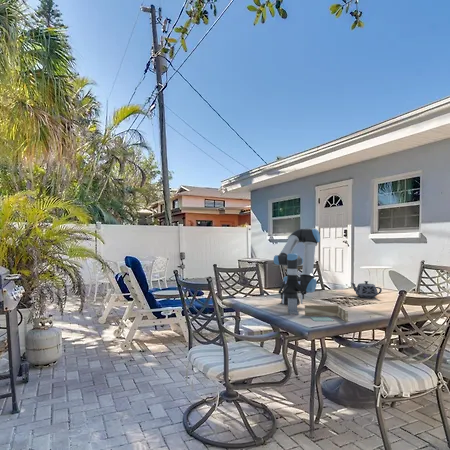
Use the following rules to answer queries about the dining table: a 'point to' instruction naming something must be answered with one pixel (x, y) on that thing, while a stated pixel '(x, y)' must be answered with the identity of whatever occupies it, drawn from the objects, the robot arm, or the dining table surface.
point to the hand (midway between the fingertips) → (292, 303)
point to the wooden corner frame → (326, 311)
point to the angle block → (292, 306)
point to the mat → (321, 319)
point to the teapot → (366, 290)
